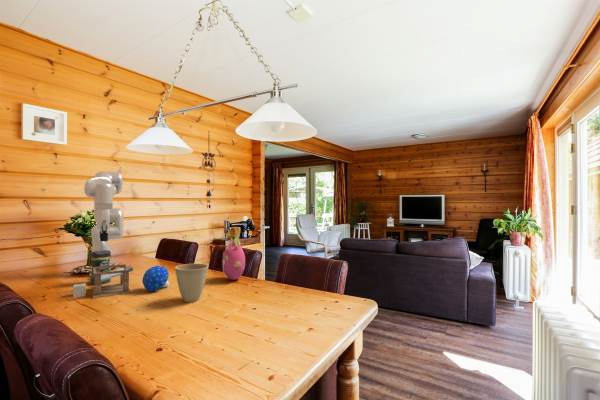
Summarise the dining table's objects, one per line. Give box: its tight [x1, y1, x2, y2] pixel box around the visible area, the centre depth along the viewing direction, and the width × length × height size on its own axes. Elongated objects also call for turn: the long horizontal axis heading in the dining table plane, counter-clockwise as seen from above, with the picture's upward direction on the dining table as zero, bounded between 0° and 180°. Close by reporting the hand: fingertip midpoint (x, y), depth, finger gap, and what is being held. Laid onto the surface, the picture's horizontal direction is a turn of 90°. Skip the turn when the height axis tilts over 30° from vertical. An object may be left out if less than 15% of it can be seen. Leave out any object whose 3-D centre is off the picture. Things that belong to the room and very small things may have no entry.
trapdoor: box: [101, 264, 134, 282], centre depth 162 cm, size 12×16×2 cm
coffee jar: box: [89, 250, 112, 286], centre depth 175 cm, size 10×8×19 cm
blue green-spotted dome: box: [141, 265, 170, 292], centre depth 163 cm, size 14×14×15 cm
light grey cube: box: [72, 282, 87, 298], centre depth 153 cm, size 5×5×5 cm
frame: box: [92, 263, 131, 299], centre depth 160 cm, size 20×16×12 cm
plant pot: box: [175, 263, 209, 303], centre depth 147 cm, size 15×15×16 cm
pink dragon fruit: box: [221, 229, 246, 281], centre depth 184 cm, size 18×14×30 cm
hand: (103, 239), depth 159 cm, fingers open, 9 cm apart
